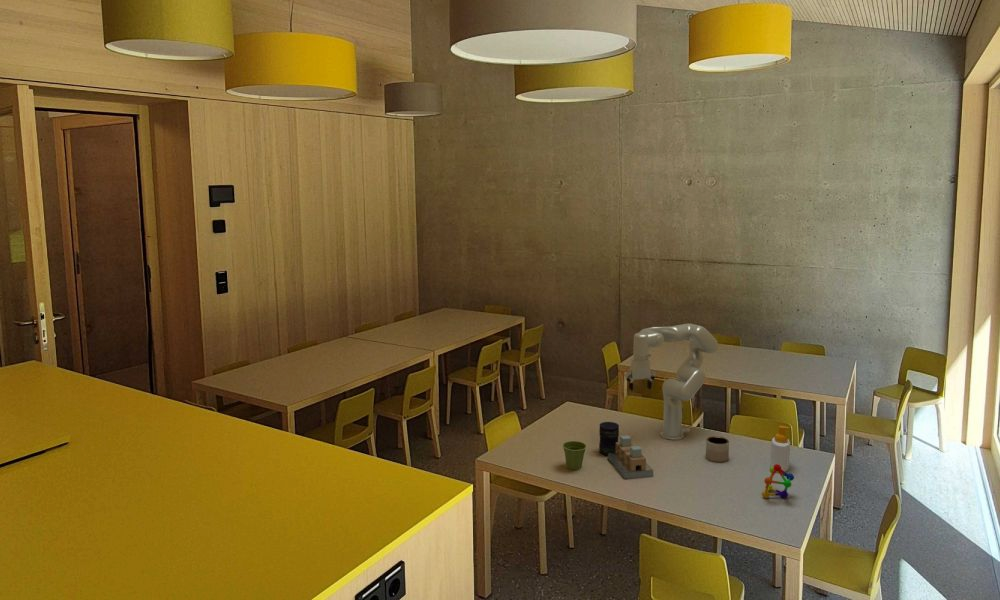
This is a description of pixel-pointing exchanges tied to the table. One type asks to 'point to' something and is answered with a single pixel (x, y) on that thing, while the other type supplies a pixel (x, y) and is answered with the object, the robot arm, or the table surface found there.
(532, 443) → the table surface
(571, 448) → the plant pot
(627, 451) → the wooden block carrier
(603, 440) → the storage jar
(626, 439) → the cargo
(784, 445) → the soap bottle
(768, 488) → the educational toy
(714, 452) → the planter
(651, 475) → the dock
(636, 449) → the block
